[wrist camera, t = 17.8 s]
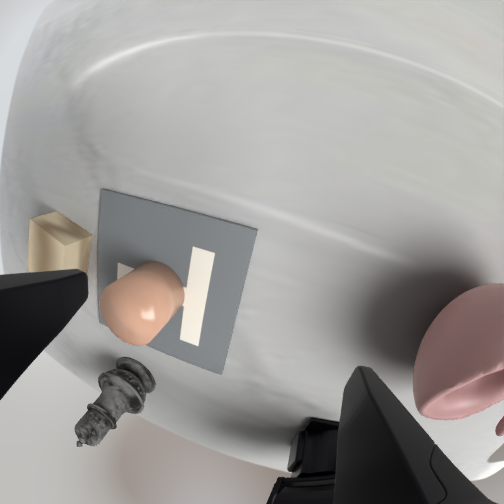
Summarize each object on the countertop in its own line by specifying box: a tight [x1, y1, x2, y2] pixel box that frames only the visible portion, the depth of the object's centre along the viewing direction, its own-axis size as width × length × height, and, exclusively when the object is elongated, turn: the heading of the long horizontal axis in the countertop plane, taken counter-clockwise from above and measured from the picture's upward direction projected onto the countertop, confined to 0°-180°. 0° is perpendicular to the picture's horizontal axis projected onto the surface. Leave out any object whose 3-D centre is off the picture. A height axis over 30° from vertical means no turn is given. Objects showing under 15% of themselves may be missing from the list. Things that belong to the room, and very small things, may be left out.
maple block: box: [28, 211, 93, 274], centre depth 23 cm, size 6×6×4 cm
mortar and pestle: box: [413, 284, 504, 436], centre depth 13 cm, size 12×12×12 cm
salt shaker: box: [75, 357, 155, 447], centre depth 22 cm, size 6×6×12 cm
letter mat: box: [97, 189, 258, 375], centre depth 23 cm, size 14×14×1 cm
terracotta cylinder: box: [100, 261, 185, 346], centre depth 21 cm, size 5×5×5 cm
